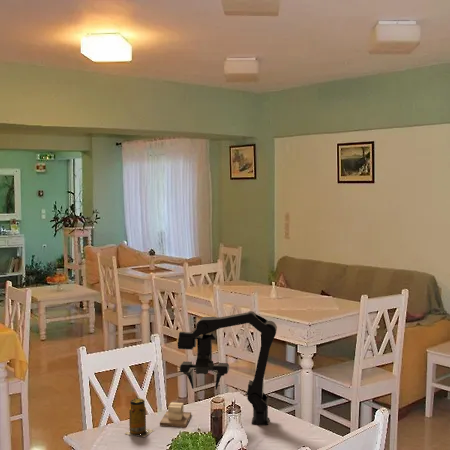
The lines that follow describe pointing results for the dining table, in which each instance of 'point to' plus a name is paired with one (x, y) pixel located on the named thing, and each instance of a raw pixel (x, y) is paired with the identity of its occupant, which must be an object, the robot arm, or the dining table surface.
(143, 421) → the condiment
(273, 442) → the dining table surface
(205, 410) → the dining table surface
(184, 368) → the robot arm
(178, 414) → the maple cube
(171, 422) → the serving board
